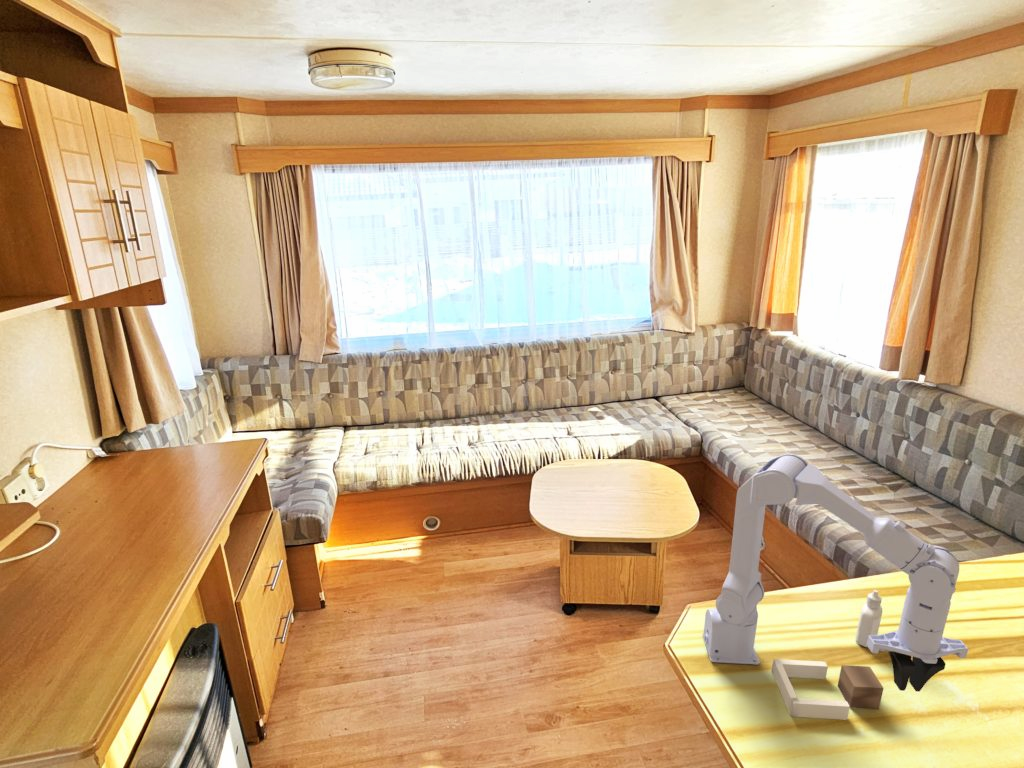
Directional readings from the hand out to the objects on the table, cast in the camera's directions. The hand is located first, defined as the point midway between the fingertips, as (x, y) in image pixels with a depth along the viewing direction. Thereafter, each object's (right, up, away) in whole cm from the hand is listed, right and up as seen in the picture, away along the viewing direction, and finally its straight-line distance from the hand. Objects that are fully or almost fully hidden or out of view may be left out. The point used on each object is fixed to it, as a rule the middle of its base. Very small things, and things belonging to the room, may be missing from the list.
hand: (906, 686), depth 99 cm
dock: (-12, -7, +10) cm, 17 cm away
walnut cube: (-3, -7, +9) cm, 12 cm away
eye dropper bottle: (+7, -2, +23) cm, 24 cm away
